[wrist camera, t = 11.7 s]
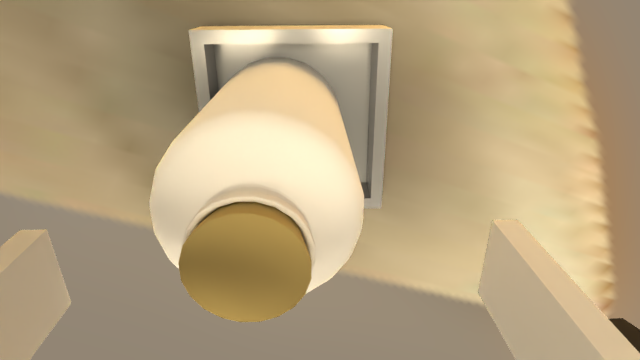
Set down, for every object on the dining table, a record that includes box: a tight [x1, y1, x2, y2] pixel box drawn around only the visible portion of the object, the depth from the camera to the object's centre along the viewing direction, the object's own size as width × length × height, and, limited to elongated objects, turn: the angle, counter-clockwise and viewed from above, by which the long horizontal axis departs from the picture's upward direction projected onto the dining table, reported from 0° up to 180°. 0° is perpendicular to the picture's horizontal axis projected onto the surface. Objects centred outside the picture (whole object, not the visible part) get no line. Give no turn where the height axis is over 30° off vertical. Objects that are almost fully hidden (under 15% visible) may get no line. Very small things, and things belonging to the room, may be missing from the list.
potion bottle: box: [149, 58, 364, 322], centre depth 21 cm, size 8×8×18 cm
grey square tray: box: [188, 25, 393, 209], centre depth 28 cm, size 12×12×4 cm
